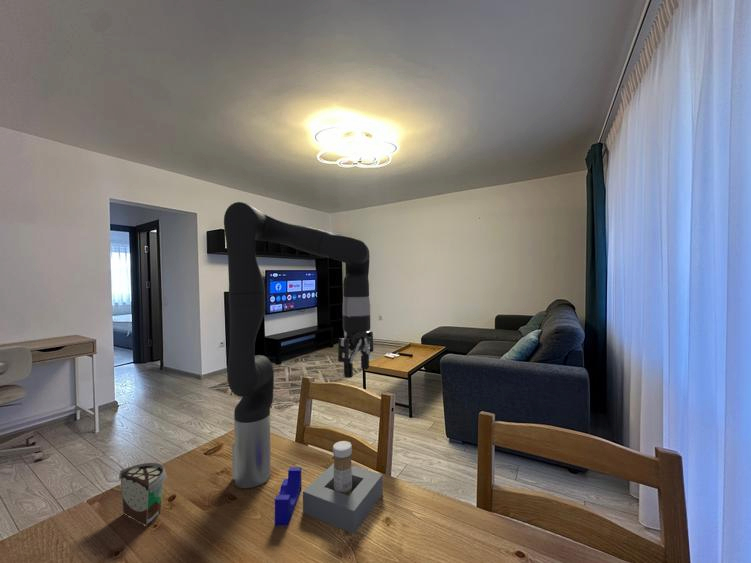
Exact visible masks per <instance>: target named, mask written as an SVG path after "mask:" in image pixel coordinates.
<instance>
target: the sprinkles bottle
mask: <svg viewBox="0 0 751 563" xmlns="http://www.w3.org/2000/svg"><path fill="white" fill-rule="evenodd" d="M352 453H353V446H352V443H351V442H350V441H347V440H341V441H337V442H335V443H334V444H333V446H332V454H333V463H334V491H337V492H340V493H342V494H345V495H348V496H349V495H350V494H351V493H352Z"/></svg>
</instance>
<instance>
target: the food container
mask: <svg viewBox="0 0 751 563" xmlns="http://www.w3.org/2000/svg"><path fill="white" fill-rule="evenodd" d="M118 475H119V477H118V479H119V480H120V490H121V491H120V492H121V504H122V514H123V513H125V514H127V515H128V516H131V517H132V518H134V520H136V521H137V522H136V521H135V522H136V523H138V522H139V523H138V524H140V523H141V524H145V525H146V526H148V525H149V526H151V525H152V524H153V523H154V522H155V521H156V520H157V519H158V518H159V516H160V515H161V509H162V508H161V507H162V500H163V499H162V496H163V485H164V483H165V482H166V480H167V472H166V468H165V467H164V465H163V464H161V463H159V462H143V463H139V464H135V465H132V466H128V467H126V468H123V469H121V470H120V471H119V474H118ZM159 514H160V515H159ZM158 515H159V516H158ZM157 517H158V518H157ZM156 518H157V519H156ZM155 519H156V520H155ZM134 520H133V521H134ZM154 520H155V521H154ZM153 521H154V522H153ZM152 522H153V523H152ZM151 523H152V524H151ZM141 524H140V525H141ZM150 524H151V525H150ZM149 526H148V527H149Z"/></svg>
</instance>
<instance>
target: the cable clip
mask: <svg viewBox="0 0 751 563" xmlns="http://www.w3.org/2000/svg"><path fill="white" fill-rule="evenodd" d="M301 493H302V466H289V468H288V471H287V478H283V480H282V482H281V485H280V488H279V494H276V496H275V498H274V526H275V527H276V526H278V527H279V526H280V527H282V526H284V527H285V526H286V527H287V526H289V525H290V523H291V520H292V517H293V514H294V511H295V508H296V506H297V503H298V500H299V497H300V496H301Z"/></svg>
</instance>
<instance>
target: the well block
mask: <svg viewBox="0 0 751 563" xmlns="http://www.w3.org/2000/svg"><path fill="white" fill-rule="evenodd" d="M351 465H352V464H351ZM383 481H384V478H383V474H381V473H379V472H376V471H373V470H369V469H366V468H362V467H359V466H356V465H352V493H351V494H350V495H349V496H348V495H345V494H342V493H340V492H337V491H334V462H333V463H332V464H331V465H330V466H329V467H328V468H327V469H325V471H323V472H322V473H321V474H320V475H318V477H317V478H316V479H315V480H313V482H312V483H310V484H309V485H308V486H307V487H306V488H304V490H302V513H303V514H305V515H307V516H309V517H311V518H314V519H317V520H320V522H321V521H322V522H325V523H326V524H329V525H331V526H333V527H336V528H339V529H341V530H342V531H346V532H348V533H350V534H353V535H355V534H356V533H357V531H358V530H359V529H360V527H361V526H362V524H363V523H364V521H365V520H366V518H367V517H368V515H369V514H370V513H371V512H372V510H373V508H374V507H376V505H377V504H378V501H380V498H381V497H382V496H383V493H384V492H383V491H384V490H383V486H384V485H383Z"/></svg>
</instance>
